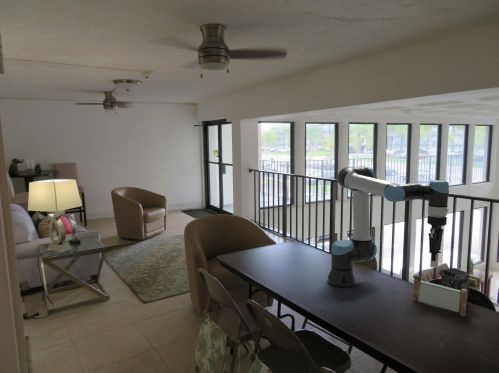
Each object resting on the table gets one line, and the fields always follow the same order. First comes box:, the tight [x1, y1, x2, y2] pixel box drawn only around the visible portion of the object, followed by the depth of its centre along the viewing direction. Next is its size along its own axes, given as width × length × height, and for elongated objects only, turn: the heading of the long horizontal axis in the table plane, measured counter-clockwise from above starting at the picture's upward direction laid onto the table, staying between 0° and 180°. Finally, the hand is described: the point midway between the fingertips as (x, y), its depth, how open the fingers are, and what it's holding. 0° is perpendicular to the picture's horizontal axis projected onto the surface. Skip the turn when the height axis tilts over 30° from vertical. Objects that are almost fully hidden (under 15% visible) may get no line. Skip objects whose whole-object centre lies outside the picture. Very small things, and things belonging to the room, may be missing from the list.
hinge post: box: [412, 274, 421, 303], centre depth 172 cm, size 3×3×13 cm
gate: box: [418, 280, 461, 313], centre depth 165 cm, size 17×2×10 cm, turn 46°
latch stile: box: [459, 289, 468, 317], centre depth 158 cm, size 2×2×12 cm
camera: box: [440, 267, 471, 303], centre depth 172 cm, size 10×11×15 cm
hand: (433, 267), depth 157 cm, fingers closed
